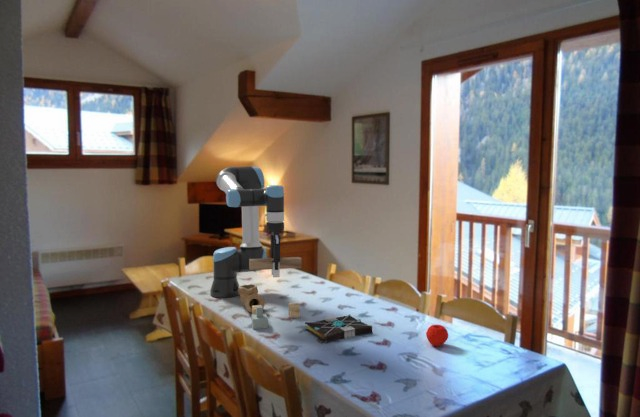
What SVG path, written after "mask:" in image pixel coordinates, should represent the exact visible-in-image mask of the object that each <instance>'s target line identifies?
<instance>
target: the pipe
mask: <svg viewBox="0 0 640 417" xmlns="http://www.w3.org/2000/svg"><path fill="white" fill-rule="evenodd" d="M238 288H239V289H238V291H239V296H240V302H241V304H242V305H243V306H244V307H245V309H246V310H245V311H247V312H249V313H251V314H252V306H256V305H261V306H262V307H263V309H264V307H265V299H264V298H263V296H262V295H261V294H260V293H259V290H258V285H257V284H252V283H250V284H242V285H239V287H238Z"/></svg>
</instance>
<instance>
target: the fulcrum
mask: <svg viewBox="0 0 640 417" xmlns="http://www.w3.org/2000/svg"><path fill="white" fill-rule="evenodd" d="M251 327H252V329H253V330H258V329H259V330H260V329H268V328H269V318H268V315H267V314H266V313H264V308H263V307H262V306H256V315H252V314H251Z"/></svg>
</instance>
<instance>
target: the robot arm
mask: <svg viewBox="0 0 640 417" xmlns="http://www.w3.org/2000/svg"><path fill="white" fill-rule="evenodd" d="M215 183H216V186H217V187H218V188H219V190H221V191H223V192H224V193H225V201H226V205H227V206H228V207H230V208H241V226H242V227H241V228H242V229H241V232H242V243H241V244H239V249H237V247H235V246H227V247H223V248H222V247H221V248H218V249H216V250H215V251H214V252H213V257H212V262H213V263H212V266H213V268H212V269H213V270H212V271H213V280H212V284H211V286H210V292H209V293H210V296H211V297H213V298H223V299H224V298H225V299H226V298H232V297H237V296H240V294H239V291H238V289H239V288H238V287H239V286H240V284H239V281H238V276H237V274H239V273H249V272H251V273H252V272H254V273H255V272H260V271H262V270H250V269H249V259H262V258H267V250H266V248H264V247H263V244H262V243H261V242H260V219H259V218H260V217H259V216H260V214H259V212H260V210H259V207H265V211H266V214H264V216H265V217H266V219H265V220H266V223H265V224H266V225H265V226H266V227H265V229H266V231H267V232H271V234H269V238H270V258H273V261H272V263H273V269H271V275H272V277H273V278H280V274H281V272H280V270H281V269H280V258H281V240H282V238H281V235H280V232H283V231H284V230H285V222H284V221H285V189H284V185H279V184H278V185H277V184H273V185H272V184H271V185H267V186H266V188H265V176H264V173H263V170H262V169H261V168H260V167H258V166H228V167H226V168H224V169H222V170H220V171H219V172H218V173H217V175H216V177H215Z"/></svg>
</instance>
